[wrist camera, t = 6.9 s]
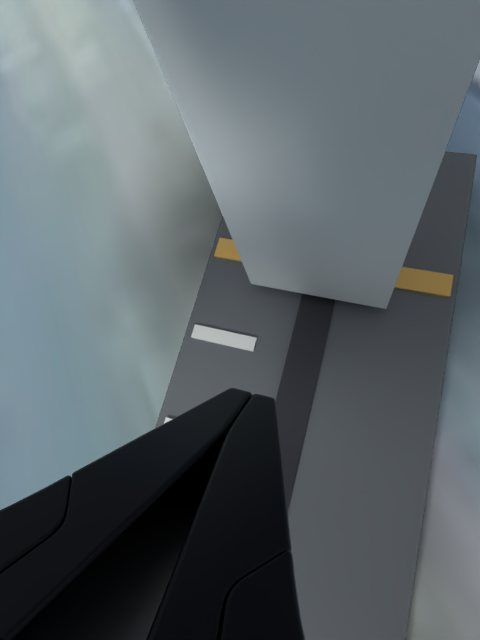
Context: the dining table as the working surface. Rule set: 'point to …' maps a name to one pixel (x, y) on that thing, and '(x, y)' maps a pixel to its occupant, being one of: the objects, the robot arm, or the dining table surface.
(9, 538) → the robot arm
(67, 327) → the dining table surface
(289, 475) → the console
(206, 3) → the fader tab
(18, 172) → the dining table surface
